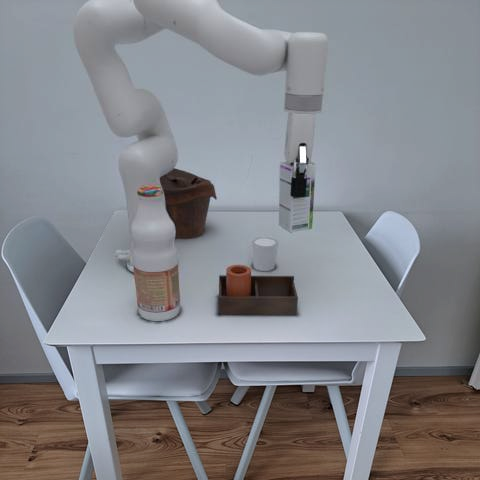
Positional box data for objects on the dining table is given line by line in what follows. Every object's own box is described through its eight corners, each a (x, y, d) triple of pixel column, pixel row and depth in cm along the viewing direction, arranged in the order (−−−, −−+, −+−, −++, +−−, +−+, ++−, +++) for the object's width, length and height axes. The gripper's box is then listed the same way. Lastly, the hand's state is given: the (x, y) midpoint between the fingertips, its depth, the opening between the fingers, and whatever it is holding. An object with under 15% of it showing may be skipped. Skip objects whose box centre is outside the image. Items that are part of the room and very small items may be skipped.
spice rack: (218, 314, 110) (218, 293, 107) (219, 296, 118) (219, 275, 115) (296, 315, 111) (298, 293, 108) (292, 296, 118) (293, 275, 115)
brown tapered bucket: (215, 243, 145) (215, 182, 136) (147, 241, 145) (142, 180, 136) (218, 221, 160) (218, 165, 151) (157, 220, 160) (152, 164, 151)
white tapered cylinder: (274, 273, 129) (276, 248, 125) (248, 270, 130) (249, 245, 126) (278, 262, 134) (279, 238, 131) (253, 259, 136) (254, 235, 132)
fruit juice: (148, 326, 105) (136, 198, 91) (131, 307, 112) (118, 185, 98) (187, 315, 110) (182, 190, 95) (169, 297, 116) (161, 178, 102)
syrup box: (290, 233, 109) (293, 166, 102) (277, 225, 114) (279, 160, 106) (312, 229, 111) (316, 163, 104) (299, 221, 116) (302, 157, 108)
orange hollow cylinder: (226, 311, 112) (226, 275, 107) (226, 299, 116) (226, 264, 112) (250, 311, 112) (251, 275, 107) (249, 299, 116) (250, 264, 112)
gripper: (281, 97, 106) (276, 179, 116) (287, 109, 91) (281, 203, 101) (316, 97, 106) (308, 180, 116) (328, 110, 92) (318, 204, 101)
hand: (296, 190), depth 108 cm, fingers closed on syrup box, 7 cm apart
